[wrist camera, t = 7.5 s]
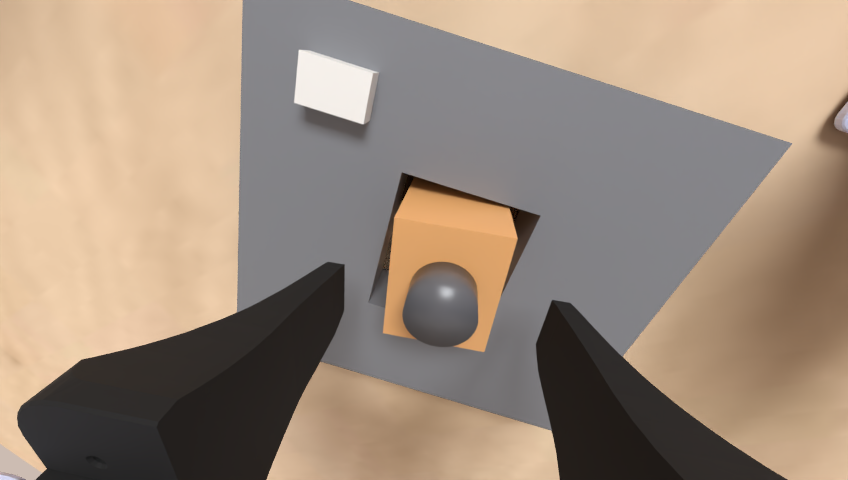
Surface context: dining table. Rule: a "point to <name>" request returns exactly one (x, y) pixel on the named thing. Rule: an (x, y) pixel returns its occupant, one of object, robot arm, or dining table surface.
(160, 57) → the dining table surface
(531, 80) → the socket plate
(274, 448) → the robot arm
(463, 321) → the plug
